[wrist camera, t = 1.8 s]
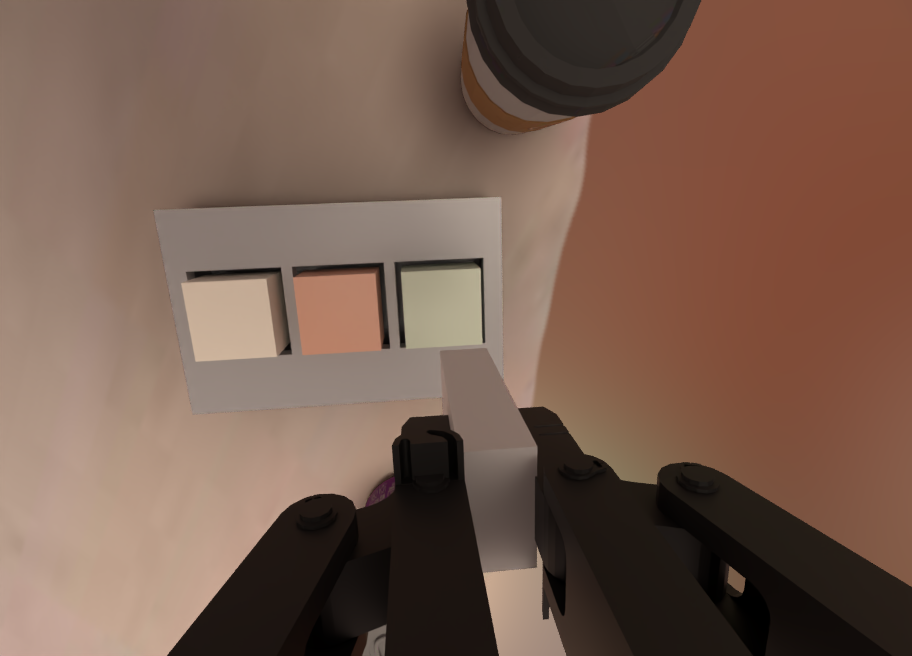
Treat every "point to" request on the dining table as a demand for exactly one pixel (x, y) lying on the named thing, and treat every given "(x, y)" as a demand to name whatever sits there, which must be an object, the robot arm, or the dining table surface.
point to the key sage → (442, 305)
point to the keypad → (330, 247)
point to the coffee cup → (564, 56)
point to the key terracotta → (339, 310)
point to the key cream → (236, 315)
